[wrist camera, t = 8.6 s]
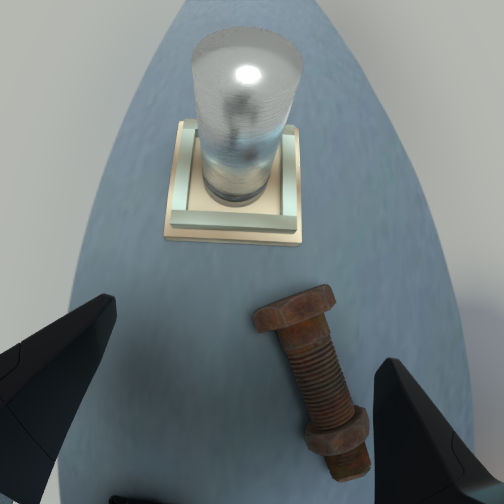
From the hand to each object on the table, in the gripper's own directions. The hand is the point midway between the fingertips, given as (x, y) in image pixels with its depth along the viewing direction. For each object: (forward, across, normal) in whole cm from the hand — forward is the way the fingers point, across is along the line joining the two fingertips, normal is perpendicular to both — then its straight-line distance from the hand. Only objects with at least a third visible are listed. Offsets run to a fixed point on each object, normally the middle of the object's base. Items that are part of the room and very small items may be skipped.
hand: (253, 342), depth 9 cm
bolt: (+8, -7, +12) cm, 16 cm away
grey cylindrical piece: (+16, +3, +1) cm, 17 cm away
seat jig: (+18, +3, +2) cm, 18 cm away
